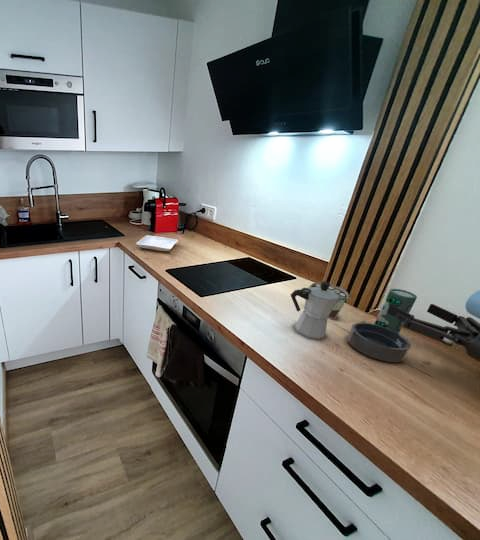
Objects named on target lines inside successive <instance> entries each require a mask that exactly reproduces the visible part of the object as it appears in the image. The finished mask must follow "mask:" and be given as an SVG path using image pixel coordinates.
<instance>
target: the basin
mask: <svg viewBox="0 0 480 540" xmlns="http://www.w3.org/2000/svg"><path fill="white" fill-rule="evenodd" d="M346 340H347V342H348V344H349V345H351V347H353V348H354V349H356V350H357V351H358V352H360V353H361V354H363V355H365V356H367V357H369V358H372V359H375V360H378V361H382V362H387V363H401V362H402V361H404V360H405V359H406V357H407V355H408V353H409V351H410V349H411V343H410V341H409V340H408V338H406V337H405V336H404V335H402V334H401V333H400V332H399V333H397V332H395V331H393V330H390V329H388V328H386V327H383V326H379V325H376V324H375V323H371V322H355V323H353V324H352V326H351V328H350V331H349V333H348V334H347V339H346Z"/></svg>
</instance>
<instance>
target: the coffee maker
mask: <svg viewBox="0 0 480 540" xmlns="http://www.w3.org/2000/svg"><path fill="white" fill-rule="evenodd" d="M321 283H322V286H321V288H319V287H310V286H309V287H302V288H301V289H294V291H292V293H291V294H290V297H291V300H292V302H293V304H294V307H295V309H296V312H300V311H301V307H300V305H299V303H298V300H297V296H298V297H300V298H301V299H304V300H305V303H304V310H303V311H302V313H301V314H300V315H299V317H298V319H297V321H296V322H295V325H294V329H295V331H296V332H297V333H298V334H299V335H302V336H303V337H305V338H307V339H312V340H319V341H320V340H322V339H323V338H326V334H327V333H326V332H327V327H328V319H329V317H327V316H329V315H330V313H331V311H332V310H333V308H334V306H335V305H336V304H337V303H338V302H339V301H341V300H342V299H344V298H345V297H342V296H340V295H338V294H336V293H334V292H332V291H331V290H328V288H329V286H330V285H331V283H330V282H328V281H321Z"/></svg>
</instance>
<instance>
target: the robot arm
mask: <svg viewBox="0 0 480 540" xmlns="http://www.w3.org/2000/svg"><path fill="white" fill-rule="evenodd" d="M464 308H465V310H466V312H467V313H468V314H470V315H472V316H473V317H476V318H477V319H480V290H475V292H473V293H472V294H471V295H470V296H469V297H468V298H467V300H466V301H465V307H464ZM426 312H427V313H428V314H431V315H432V316H434V317H436V318H439V319H440V320H443V321H445V322H446V323H448V324H451V325H452V324H453V326H449V325H445V326H442V325H440V324H436V323H432V322H428V321H426V320H422V319H419V318H415V315H414V314H411V313H410V312H409V313H407V312H405V311H403V310H401V309H399V308H398V307H396V306H394V305H390V306H389V309H388V311H387V313H388V314H390V315H392V316H394V317H395V318H397V319H399V320H401V321H403V322H404V324H403V326H402V328H404V329H407V330H409V331H412V332H415V333H417V334H420V335H422V336H425V337H427V338H429V339H432V340H435V341H438V342H440V343H441V344H443V345H444V346H445V345H446V346H448V347H453V346H454V345H458V346H461V347H464V349H465V353H466V355H467V356H468V357H470V358H472V359H474V360H475V361H477V362H479V363H480V322H478V321H477V320H475V319H474V318H473V317H470V316H467V317H465V316H461V315H457V314H455V313H454V312H451V311H449V310H447V309H445V308H442V307H440V306H438V305H436V304H434V303H430V304H429V306H428V309H427V310H426Z"/></svg>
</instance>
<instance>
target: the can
mask: <svg viewBox="0 0 480 540" xmlns="http://www.w3.org/2000/svg"><path fill="white" fill-rule="evenodd" d="M417 298H418V297H417V295H416V294H415V293H413V292H411V291H407V290H404V289H400V288H390V289H389V290H388V293H387V295H386V297H385V300H384V301H383V304H382V306H381V308H380V311H379V312H378V315H377V316H376V319H375V321H374V324H376V325H379V326H383V327H386V328H388V329H390V330H393V331H395V332H397V333H399V334H400V332H401V330H402V328H403V324H404V322H403V321H401V320H399V319H397V318H395V317H394V316H392V315H390V314H388V313H387V311H388V309H389V306H390V305H394V306H396V307H398V308H399V309H401V310H403V311H405V312H407V313H409V314H410V312H411V310H412V308H413V306H414V304H415V302H416V300H417Z"/></svg>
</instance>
